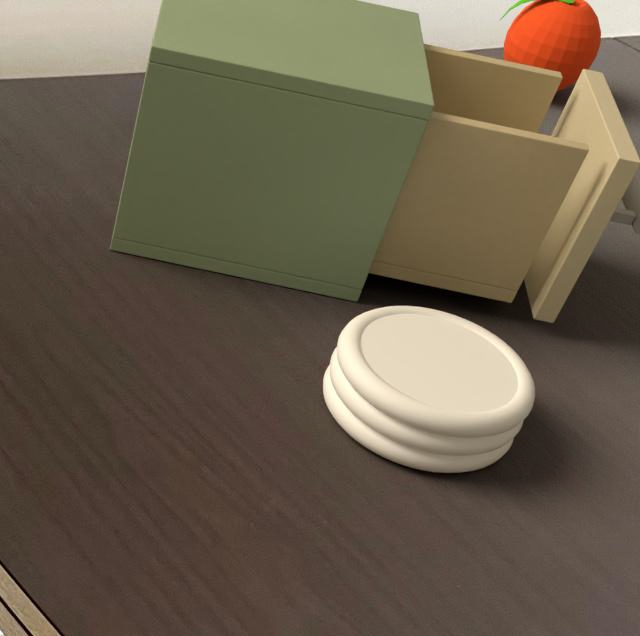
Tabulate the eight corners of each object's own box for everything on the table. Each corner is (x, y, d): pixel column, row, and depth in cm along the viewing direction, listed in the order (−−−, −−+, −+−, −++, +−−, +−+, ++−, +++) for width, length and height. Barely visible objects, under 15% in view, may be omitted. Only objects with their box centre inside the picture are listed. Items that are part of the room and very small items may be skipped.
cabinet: (351, 197, 76) (418, 12, 67) (357, 302, 67) (435, 105, 58) (132, 151, 76) (171, -40, 67) (109, 250, 67) (151, 45, 59)
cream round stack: (450, 351, 65) (476, 297, 62) (545, 471, 59) (578, 416, 56) (289, 359, 62) (309, 303, 59) (370, 485, 56) (397, 429, 53)
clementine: (482, 96, 90) (522, 0, 85) (469, 60, 95) (507, -33, 89) (582, 115, 90) (629, 21, 85) (565, 78, 95) (608, -14, 90)
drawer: (583, 237, 74) (664, 85, 67) (615, 336, 67) (710, 177, 59) (321, 182, 74) (374, 24, 67) (323, 274, 67) (383, 108, 60)
